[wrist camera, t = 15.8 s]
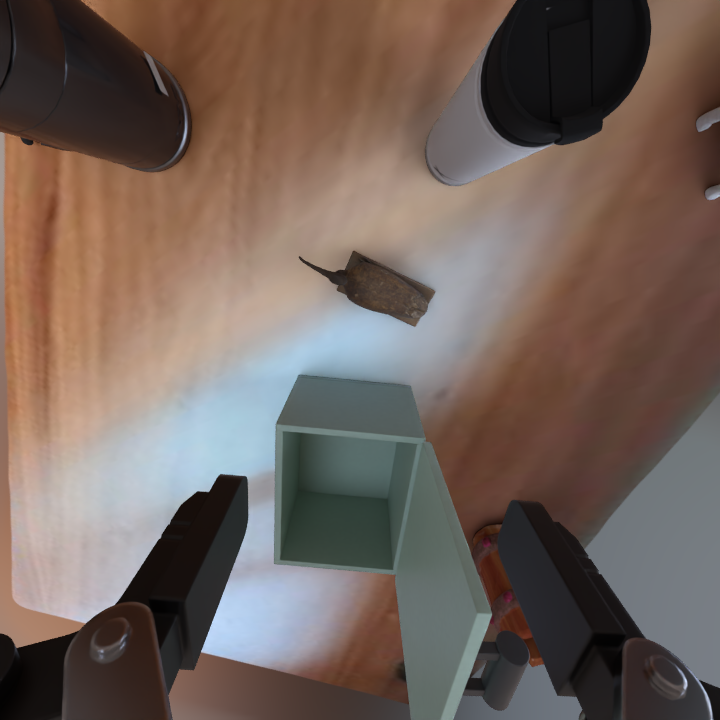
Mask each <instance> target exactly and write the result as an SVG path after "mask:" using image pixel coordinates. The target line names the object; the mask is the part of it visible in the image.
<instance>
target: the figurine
mask: <svg viewBox="0 0 720 720" xmlns="http://www.w3.org/2000/svg"><path fill="white" fill-rule="evenodd" d="M299 259H300V260H301V261H302V262H303V263H305V264H306V265H308V266H309V267H311V268H312V269H314V270H316V271H317V272H319V273H321V274H322V275H324V276H326V277H327V278H329V280H330V281H331V282H332V283H334V284H336V285H339V286H338V288H337V291H339V292H341V293H344V294H346V295H347V298H348V299H349V300H351V301H352V302H354V303H355V304H357V305H359V306H361V307H363V308H366V309H369V310H372V311H375V312H380V313H384V314H388V315H391V316H393V317H395V318H397V319H399V320H401V321H403V322H406V323H408V324H410V325H412V326H414V327H415V326H416V325H417V323H418V321H419V319H420V317H421V316H423V315H424V314H425V312H427V309H428V304H429V302H430V300H431V299H432V297H433V295H434V293H435V291H434V290H432V289H430V288H428V287H426V286H424V285H422V284H420V283H418V282H416V281H414V280H412V279H410V278H408V277H406V276H404V275H402V274H400V273H397V272H395V271H393V270H391V269H389V268H387V267H385V266H383V265H381V264H379V263H377V262H375V261H373V260H371V259H369V258H367V257H365V256H363V255H361V254H359V253H357V252H355V251H353V252H352V255H351V257H350V260H349V262H348V264H347V267H346V269H345V270H338V271H336V272H331V271H327V270H325V269H322V268H320V267H317V266H315V265H313V264H311V263H309V262H307V261H305V260H303V259H302V258H301V257H300V256H299Z"/></svg>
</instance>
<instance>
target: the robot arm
mask: <svg viewBox="0 0 720 720" xmlns="http://www.w3.org/2000/svg"><path fill="white" fill-rule="evenodd" d="M0 132H3V133H7V134H10V135H14V136H18V137H20V138H21V140H22V141H23V143H25V144H27V145H32V144H33V141H37V142H40V143H41V145H44V146H48V147H52V148H56V149H60V150H65V151H74V152H78V153H81V154H85V155H89V156H93V157H96V158H100V159H104V160H107V161H111V162H114V163H118V164H122V165H125V166H127V167H130V168H133V169H136V170H140V171H145V172H159V171H163V170H166V169H168V168H170V167H172V166H173V165H175V164H176V163H177V162H178V161H179V160H180V159H181V157H182V156H183V155H184V153H185V151H186V149H187V147H188V144H189V141H190V136H191V115H190V109H189V106H188V102H187V99H186V97H185V94H184V92H183V90H182V88H181V86H180V85H179V83H178V82H177V80H176V79H175V78H174V76H173V75H172V74H171V73H170V72H169V70H167V69H166V68H165V67H164V66H163V65H162V64H161V63H159V62H158V61H157V60H156V59H154V58H153V57H152V56H150V55H149V54H147V53H146V52H145V51H143V50H141V49H140V48H139V47H138V46H136V45H135V44H134V43H133V42H132V41H130V40H129V39H128V38H127V37H125V36H124V35H123V34H122V33H120V32H119V31H118V30H117V29H115V28H114V27H113V26H112V25H110V24H109V23H108V22H107V21H105V20H104V19H103V18H102V17H100V16H99V15H98V14H97V13H95V12H94V11H93V10H92V9H90V8H89V7H88V6H87V5H85V4H84V3H83V2H82V1H80V0H0ZM247 523H248V481H247V477H246V476H236V475H224V474H220V475H219V476H218V478H217V479H216V481H215V483H214V484H213V486H212V488H211V490H210V491H209V492H200V491H197V492H196V493H195V494H194V495H193V496H191V497H190V498H189V499H188V500H186V501H185V502H184V503H183V504H181V506H180V507H179V509H178V510H177V512H176V514H175V515H174V517H173V518H172V520H171V522H170V525H169V524H168V526H167V527H166V529H165V531H164V532H163V534H162V536H161V539H159V540H158V541H157V543H156V544H155V546H154V547H153V549H152V551H151V552H150V554H149V555H148V557H147V558H146V560H145V561H144V563H143V564H142V566H141V568H140V569H139V571H138V572H137V574H136V575H135V577H134V578H133V580H132V581H131V583H130V584H129V586H128V588H127V589H126V591H125V592H124V594H123V595H122V597H121V598H120V599H119V601H118V602H117V603H116V604H115V605H114V606H112V607H109V608H107V609H105V610H104V611H102V612H100V613H99V614H97V615H96V616H94V617H93V618H92V619H91V620H90V621H88V622H87V623H86V624H85V625H84V626H83V627H82V628H81V629H80V630H79V631H77V632H75V633H72V634H69V635H65V636H62V637H58V638H54V639H50V640H46V641H42V642H39V643H35V644H31V645H27V646H23V647H19V648H16V647H15V644H14V643H13V641H12V639H11V638H10V637H9V636H7V635H4V634H0V720H173V719H172V714H171V709H170V703H169V697H168V695H169V693H170V690H171V688H172V685H173V683H174V680H175V678H176V676H177V673H178V671H179V669H184V670H194V669H195V666H196V663H197V661H198V658H199V656H200V653H201V650H202V648H203V645H204V642H205V640H206V637H207V634H208V632H209V629H210V626H211V624H212V621H213V618H214V616H215V613H216V610H217V608H218V605H219V603H220V600H221V597H222V595H223V592H224V589H225V587H226V584H227V581H228V579H229V576H230V573H231V571H232V568H233V565H234V563H235V560H236V557H237V555H238V552H239V550H240V547H241V544H242V542H243V539H244V536H245V532H246V528H247ZM497 546H498V553H499V557H500V560H501V562H502V565H503V567H504V570H505V572H506V574H507V577H508V579H509V581H510V584H511V586H512V589H513V591H514V593H515V596H516V598H517V601H518V603H519V605H520V608H521V610H522V612H523V615H524V617H525V620H526V622H527V624H528V627H529V629H530V632H531V634H532V636H533V639H534V641H535V643H536V646H537V648H538V651H539V653H540V655H541V658H542V660H543V662H544V665H545V667H546V669H547V672H548V674H549V677H550V679H551V681H552V684H553V686H554V689H555V691H556V693H557V695H558V696H572V697H577V699H578V701H579V703H580V705H581V707H582V709H583V710H582V712H581V713H580V716H579V720H720V688H718V687H715V686H712V685H710V684H708V683H705V682H703V681H700V680H698V679H697V677H696V676H695V675H694V674H693V672H692V671H691V670H690V669H689V668H688V667H687V666H686V665H685V664H684V663H683V662H682V661H681V660H680V659H679V658H678V657H676V656H675V655H674V654H672V653H671V652H670V651H669V650H667V649H665V648H664V647H662V646H661V645H659V644H657V643H655V642H653V641H650V640H647V639H646V638H645V637H644V635H643V634H642V633H641V631H640V630H639V628H638V627H637V625H636V624H635V622H634V621H633V620H632V618H631V617H630V615H629V614H628V612H627V611H626V610H625V608H624V607H623V605H622V604H621V602H620V601H619V599H618V598H617V596H616V595H615V594H614V592H613V591H612V589H611V588H610V586H609V585H608V583H607V582H606V581H605V579H604V578H603V576H602V575H601V574H599V573H598V569H597V568H596V566H595V565H594V563H593V562H592V560H591V559H589V558H588V555H587V553H586V552H585V550H584V549H583V547H582V546H581V544H580V543H579V542H578V540H577V539H576V537H574V536H573V535H572V534H571V533H570V532H569V531H568V530H567V529H566V528H564V527H563V526H562V525H561V524H560V523H559V522H553V520H552V519H551V517H550V516H549V514H548V513H547V511H546V510H545V508H544V507H543V505H542V504H541V503H539V502H532V501H520V500H512V501H511V502H510V504H509V506H508V509H507V512H506V515H505V518H504V520H503V523H502V526H501V529H500V532H499V535H498V541H497Z"/></svg>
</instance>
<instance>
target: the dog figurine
mask: <svg viewBox="0 0 720 720" xmlns="http://www.w3.org/2000/svg"><path fill="white" fill-rule="evenodd" d="M719 121H720V107H718V108H716V109H714V110H712V111H710V112H708V113H706V114H704V115H702V116H700V117H699V118H698V119H697V121H696V126H697V130H698V131H699V132H701V131H703V130H706V129H708V128H709V127H710V126H711V125H712V124H713V123H716V122H719ZM719 196H720V185H717V186H712V187H710V188H708V189H707V190H706V191H705V197H706V199H708V200H713V199H716V198H718V197H719Z"/></svg>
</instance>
